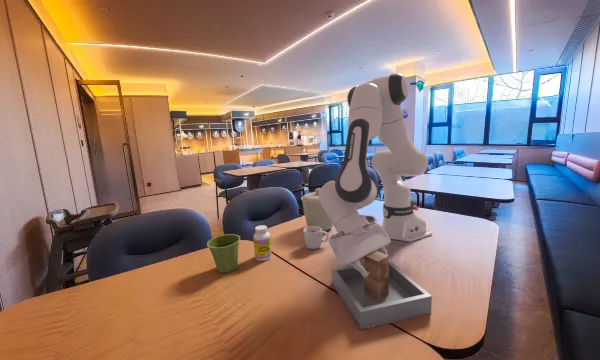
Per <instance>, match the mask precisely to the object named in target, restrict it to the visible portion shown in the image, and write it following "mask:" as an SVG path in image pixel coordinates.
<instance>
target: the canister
mask: <svg viewBox="0 0 600 360" xmlns="http://www.w3.org/2000/svg"><path fill="white" fill-rule="evenodd" d="M320 189H321V188H320V187H317V188H315V190H314V191H313V192H308V193H306V194H304V195H302V196H301V197H300V200H301V201H302V205H303V212H304V218H305V222H306V227H309V226H318V227H320V228H321V229H322V231H326V232H327V231H329V230H330V229H332V228H333V227H334V226H333V222H332V220H331V219H330V218H329V217H328V216H327V214H326V212H325V211H324V209H323V207H322V205H321V203H320V200H319V197H318V193H319V191H320Z"/></svg>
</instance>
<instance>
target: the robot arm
mask: <svg viewBox="0 0 600 360" xmlns="http://www.w3.org/2000/svg"><path fill="white" fill-rule="evenodd" d="M408 92H409V84H408V81H407V79H406V77H405V76H404V75H403V74H402V73H400V72H399V73H396V72H395V73H390V75H385V76H381V77H375V78H373V79H372V80H369V81H366V82H364V83H361V84H358V85H354V87H352V88H351V89H350V90H349V92H348V93H347V98H346V99H347V100H346V101H347V104H348V108H349V109H348V117H347V118H348V122H347V123H348V124H347V134H346V135H347V137H346V143H345V150H344V156H343V161H342V165H341V167H340V170H339V172H338V173H337V176H336V177H335V180H329V181H327V182H326V183H324V184H323V185H322V186H321V188H320V191H319V193H318V197H319V200H320V203H321V205H322V207H323V209H324V211H325V212H326V214H327V216H328V217H329V218H330V219H331V220H332V222H333V226H332V227H333V228H334V229H335V231H336V232H337V233H335V234H332V235H329V237H330V238H329V239H328V244H329V245H330V247H331V249H332V252H333V254H334V257H335V259H336V261H337V263H338V265H339V266H340V267H341V268H342V267H343V268H345V267H347V266H353V267H354V268H355V269H356V270H358V271H359V272H361V274H362V276H363V277H364V278H365V277H366V276H368V275H370V272H369V270H368V268H366V269H365V268H364V267H363V266H361V265H360V264H362V262H361V260H362V259H364V256H366V255H368V254H370V253H372V252H374V251H379V252H381V253H384V254H386V255H388V256H389V254H388V250H387V246H389V245H390V244H391V240H397V241H404V242H408V243H409V242H414V241H417V240H420V239H423V238H427V237H430V236H433V232H432V230H430V229H429V228H427V224H426V221H425V220H424V218H422V217H421V216H419V215H418V214H416V213H415V212H414V211H418V210H419V206H417V205H413V204H411V193H412V192H411V187H410V186H409V184H407V183H406V182H405V181H404V180H403V179H402V176H406V177H416V176H422V175H424V173H426V171H427V169H428V167H429V160H428V156H427V155H426V154H425V153H424V152H423V151H421V150H420V149H418V148H417V147H416V146H415V145H414V143H413V142H412V140H411V139H410V137H409V135H408V133H407V132H408V131H407V129H406V125H405V119H404V115H403V113H404V112H403V110H402V107H401V105H402V103H403V102H405V100H406V99H407V97H408ZM377 136H378V140H379V142H380V143H381V144H382V145H384V146H385V147H386V148H387V149H384V150H383V149H382V150H378V151H376V152H374V154H373V155H372V156H371V161H370V162H371V166H372V167H371V168H372V169H373V170H374V171H375V172H376V173H377V174H378V176H379V178H380V180H381V183H382V187H383V199H384V200H383V201H384V203H383V204H382V212H383V221H382V225H381V224H379V223H378V222H377V221H378V219H377V217H375V216H373V215H367V214H365V215H364V214H360V213H359V211H358V210H361V209H363V208H364V207H367V206H369V205H371V204H372V203H373V202H375V200H376V198H377V197H378V196H377V195H378V188H377V186H376V183H375V182H374V181H373V180H372V179H371V177H370V174H369V172H368V168H367V157H368V147H369V141H371V140H373V139H375V138H376V137H377ZM390 262H391V259H390V258H389V263H390Z"/></svg>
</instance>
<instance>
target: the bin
mask: <svg viewBox="0 0 600 360" xmlns="http://www.w3.org/2000/svg"><path fill="white" fill-rule="evenodd" d="M360 265H361V266H363V267H364V262H363V263H361V264H360ZM331 284H332V286H333V287H334V289H335V291H336V292H337V294H338V295H339V297H340V299H341V301H342V302H343V303H344V305H345V307H346V309H347V310H348V312H349V313H350V315H351V317H352V318H353V320H354V322H355V321H356V322H355V324H356V325H357V324H358V325H357V326H359V327H360V328H359V327H358V328H359V330H360V329H364V328H368V327H372V326H376V327H379V326H378V325H380V326H383V325H382V324H385V325H388V324H392V323H396V322H400V321H404V320H408V319H409V320H410V319H413V318H417V317H420V316H421V317H422V316H425V315H428V314H431V313H432V305H433V304H432V299H433V296H432V295H431V294H430V293H429V292H427V291H426V290H425V289H424V288H423V287H422V286H420V284H418V282H416V281H414V279H412V278H411V277H410V276H409V275H408V274H406V273H405V272H404V271H402V270H401V269H400V268H399V267H398V266H397V265H395V264H394V263H393V262H390V263H389V294H388V295H387V296H385V297H384V298H382V299H381V300H379V301H377V300H375V299H374V298H372V297H370V296H369V295H367V294H365V293H364V277H363V276H362V274H361V272H359V271H358V270H356V269H355V268H354V267H353V266H352V265H349V266H347V267H345V268H343V267H342V266H341V267H338V268H331ZM372 328H373V327H372ZM368 329H369V328H368ZM364 330H365V329H364Z"/></svg>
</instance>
